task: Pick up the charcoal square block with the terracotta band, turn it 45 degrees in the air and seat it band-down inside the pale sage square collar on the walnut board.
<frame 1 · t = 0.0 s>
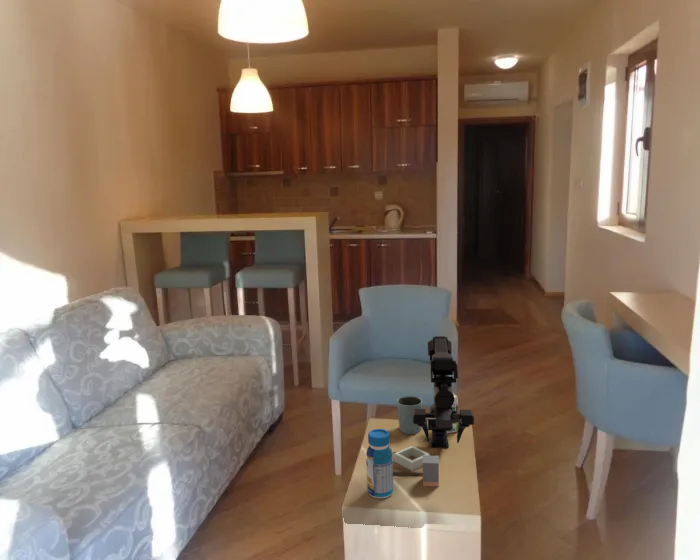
hand: (443, 442, 179), 15 cm above the table, tool pointing down, fingers open, 9 cm apart
holder collar: (412, 457, 194), on the walnut board, point 2 cm above the table
walnut board: (412, 464, 194), on the table
beverage bottle: (380, 492, 178), on the table
syrup box: (448, 430, 220), on the table
banded block: (430, 482, 183), on the table
grey green cup: (409, 429, 222), on the table
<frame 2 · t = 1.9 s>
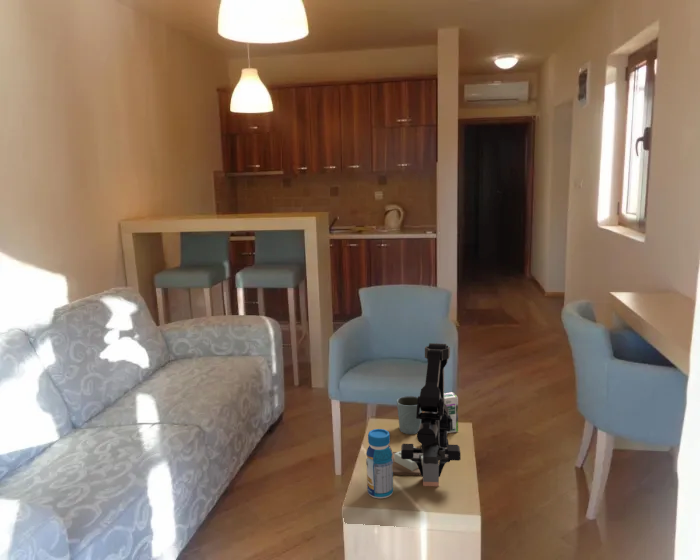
hand: (430, 476, 183), 2 cm above the table, tool pointing down, fingers closed on banded block, 5 cm apart
banded block: (430, 482, 183), on the table, touching gripper
everything else where it was.
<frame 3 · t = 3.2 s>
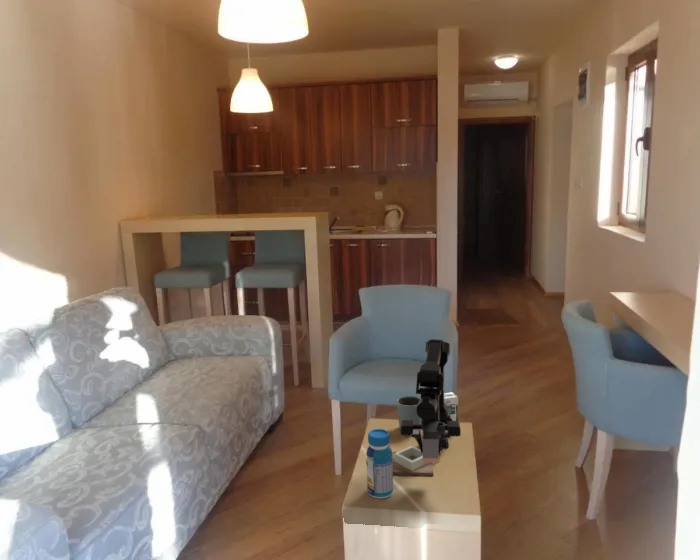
hand: (430, 452, 181), 10 cm above the table, tool pointing down, fingers closed on banded block, 5 cm apart
banded block: (430, 458, 181), point 8 cm above the table, touching gripper
everything else where it was.
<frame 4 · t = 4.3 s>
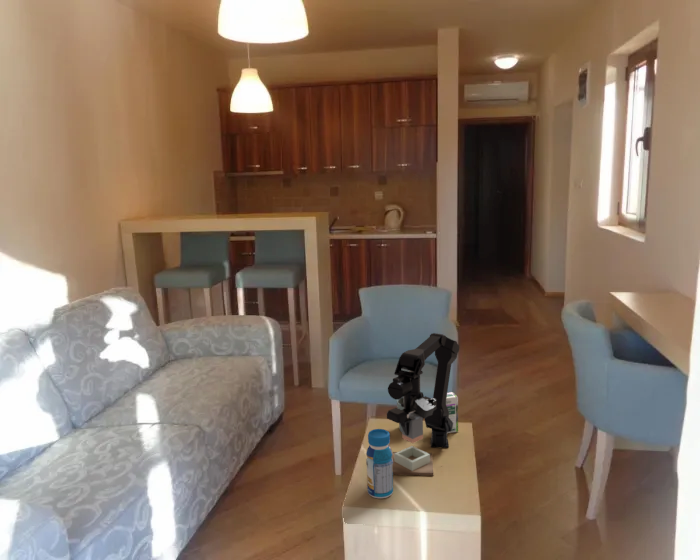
hand: (412, 432, 192), 12 cm above the table, tool pointing down, fingers closed on banded block, 5 cm apart
banded block: (412, 438, 192), point 10 cm above the table, touching gripper
everything else where it was.
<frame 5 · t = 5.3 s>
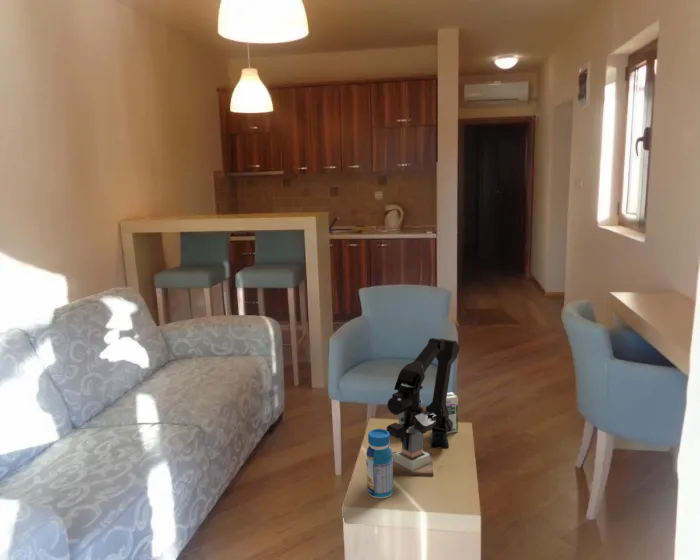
hand: (412, 447, 193), 6 cm above the table, tool pointing down, fingers closed on banded block, 5 cm apart
banded block: (412, 452, 194), point 4 cm above the table, touching gripper
everything else where it was.
when the fingers open (5 cm above the table, at t = 6.4 s): banded block drops 2 cm, resting on walnut board.
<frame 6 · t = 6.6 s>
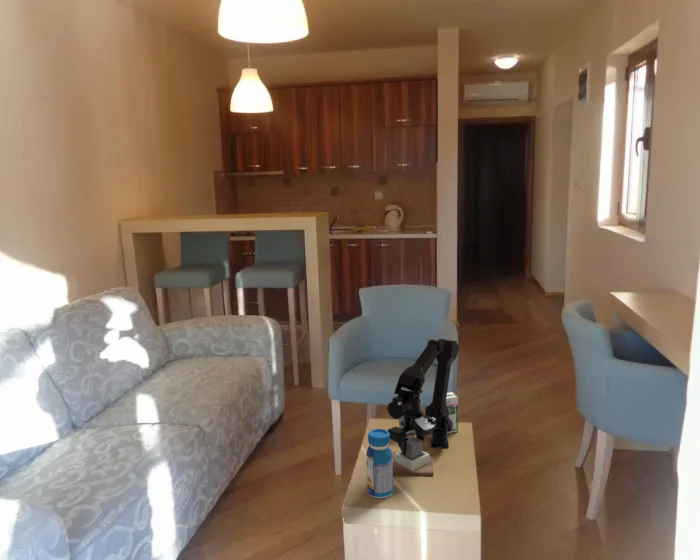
hand: (412, 451, 194), 5 cm above the table, tool pointing down, fingers open, 7 cm apart
banded block: (412, 461, 194), point 1 cm above the table, touching walnut board
everything else where it was.
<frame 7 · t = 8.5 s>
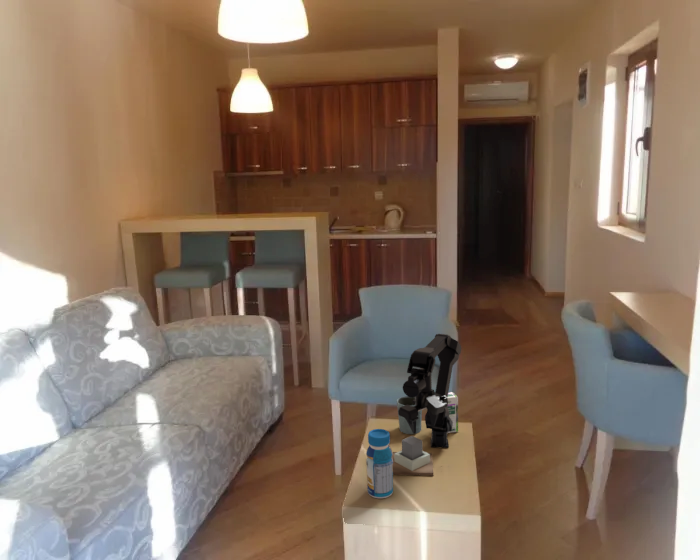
hand: (423, 429, 195), 12 cm above the table, tool pointing down, fingers open, 9 cm apart
nothing on the table moved.
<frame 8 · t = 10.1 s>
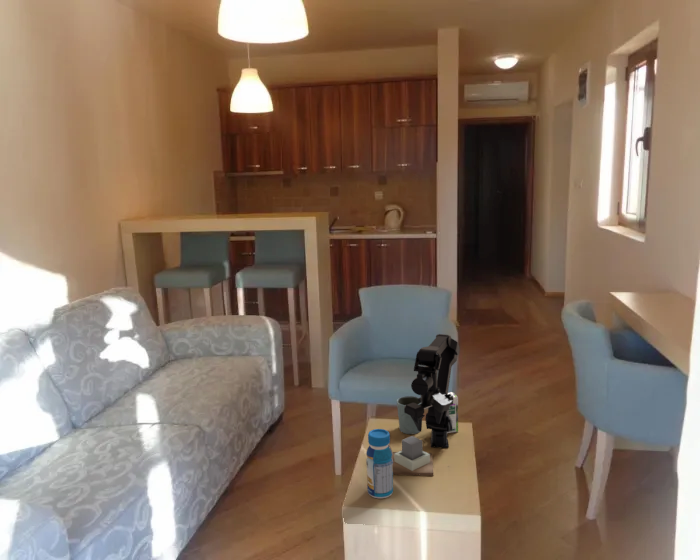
hand: (429, 427, 195), 12 cm above the table, tool pointing down, fingers open, 9 cm apart
nothing on the table moved.
at the end: banded block 0.0 cm off-centre on the holder collar, point 1.0 cm above the holder collar's base; banded block tilted 0°; the gripper is holding nothing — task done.
